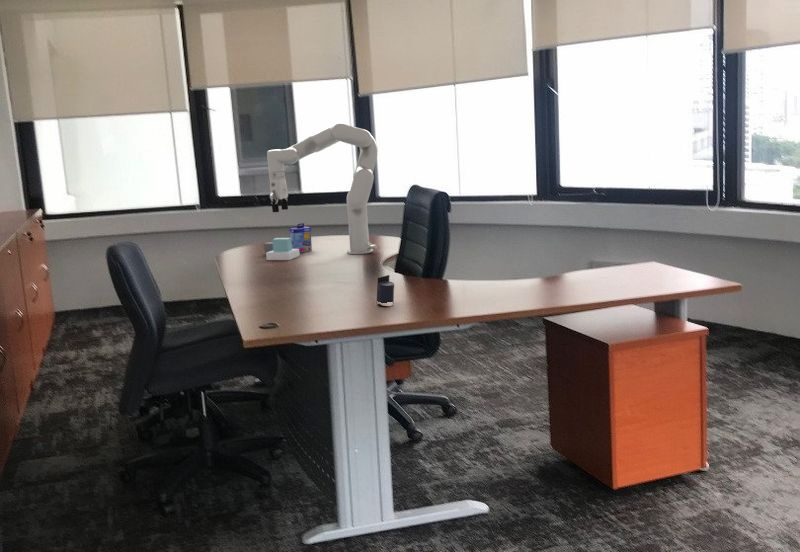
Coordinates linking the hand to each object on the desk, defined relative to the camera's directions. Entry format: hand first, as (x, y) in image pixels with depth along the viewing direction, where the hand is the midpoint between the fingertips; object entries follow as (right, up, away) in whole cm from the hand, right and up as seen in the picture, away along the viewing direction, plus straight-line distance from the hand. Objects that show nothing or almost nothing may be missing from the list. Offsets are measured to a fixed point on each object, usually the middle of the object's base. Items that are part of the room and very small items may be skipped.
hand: (280, 210), depth 440 cm
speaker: (+53, -42, -115) cm, 134 cm away
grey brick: (-5, -21, +17) cm, 27 cm away
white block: (+1, -23, +4) cm, 23 cm away
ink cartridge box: (+8, -19, +21) cm, 30 cm away
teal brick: (+1, -19, +4) cm, 20 cm away
